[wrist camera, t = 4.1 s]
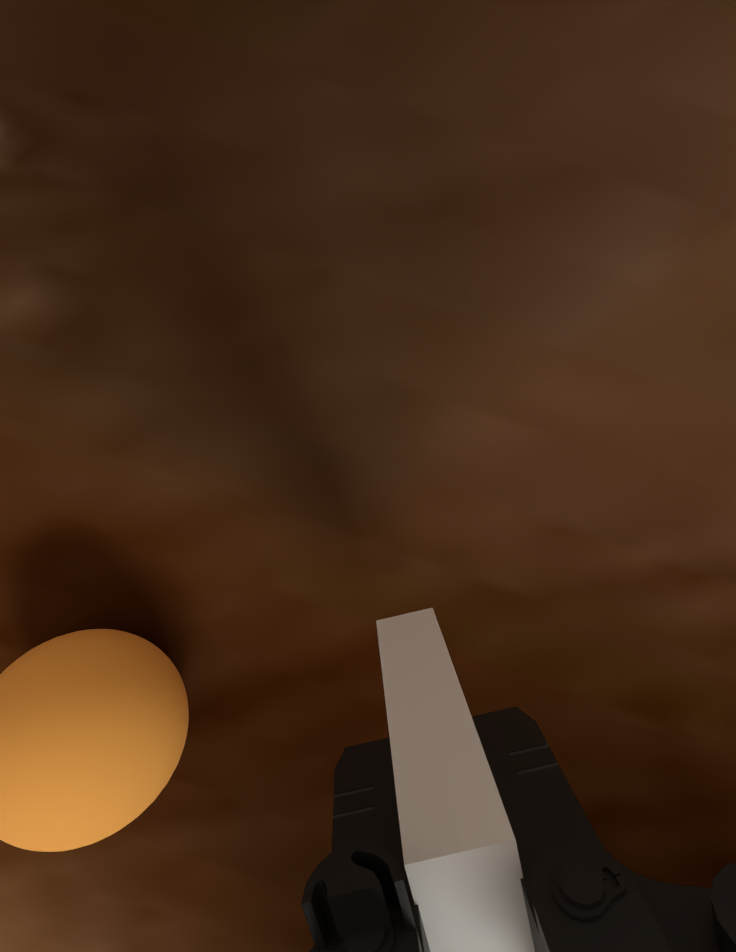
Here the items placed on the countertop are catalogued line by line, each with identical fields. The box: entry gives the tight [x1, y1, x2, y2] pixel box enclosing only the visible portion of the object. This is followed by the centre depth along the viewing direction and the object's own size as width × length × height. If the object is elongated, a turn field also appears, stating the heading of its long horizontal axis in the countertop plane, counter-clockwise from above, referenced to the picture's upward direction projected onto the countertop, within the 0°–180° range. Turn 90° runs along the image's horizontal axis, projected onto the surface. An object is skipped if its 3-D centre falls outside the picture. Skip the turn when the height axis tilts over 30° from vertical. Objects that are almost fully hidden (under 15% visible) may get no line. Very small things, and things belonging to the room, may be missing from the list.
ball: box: [0, 629, 189, 852], centre depth 14 cm, size 6×6×6 cm
